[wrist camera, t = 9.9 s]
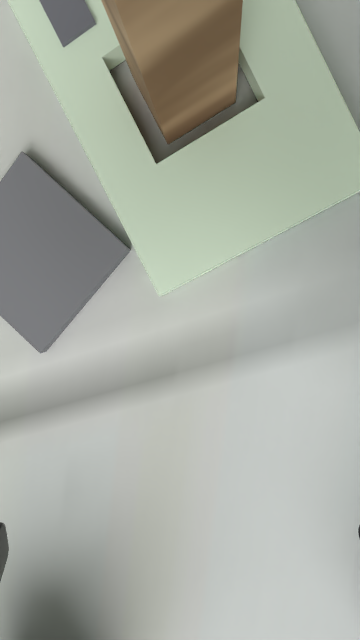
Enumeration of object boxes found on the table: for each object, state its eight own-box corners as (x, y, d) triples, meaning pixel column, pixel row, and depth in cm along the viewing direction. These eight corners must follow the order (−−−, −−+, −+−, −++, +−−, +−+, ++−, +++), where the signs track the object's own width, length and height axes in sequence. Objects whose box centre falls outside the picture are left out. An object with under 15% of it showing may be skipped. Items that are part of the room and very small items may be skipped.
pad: (131, 249, 17) (127, 248, 17) (46, 351, 18) (40, 353, 18) (28, 156, 18) (22, 151, 17) (-48, 262, 19) (-57, 261, 18)
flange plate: (371, 185, 15) (384, 176, 14) (162, 295, 17) (158, 296, 16) (208, -148, 15) (207, -187, 14) (12, 3, 17) (-4, -19, 16)
